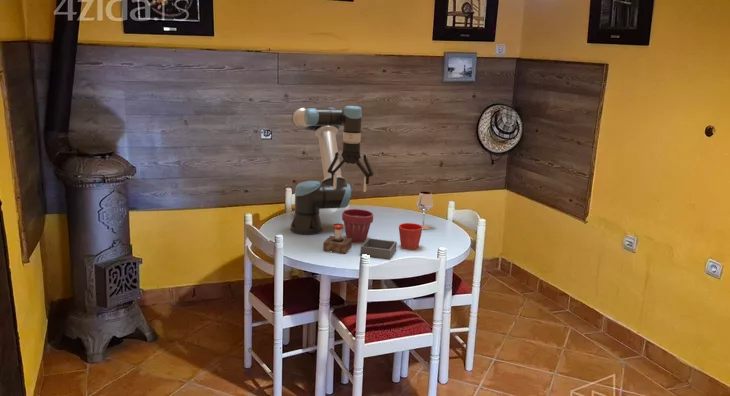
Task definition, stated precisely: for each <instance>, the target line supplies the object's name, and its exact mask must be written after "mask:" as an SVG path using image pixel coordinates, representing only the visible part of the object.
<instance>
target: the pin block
mask: <svg viewBox="0 0 730 396" xmlns="http://www.w3.org/2000/svg"><path fill="white" fill-rule="evenodd" d="M334 241H335V235H329V237H328V238H326V239H325V240H324V241H323V244H322V245H323V247H322V251H323V250H324V251H323V252H327V251H332V252H331V253H335V252H337V253H336V254H342V253H343V255H345V254H347V253H348V250H350V249H351V248H352V245H353V242H352V238H346V237H343V236H342V238H341V242H334Z"/></svg>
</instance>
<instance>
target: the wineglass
mask: <svg viewBox="0 0 730 396" xmlns="http://www.w3.org/2000/svg"><path fill="white" fill-rule="evenodd" d="M416 206H417V208H418V209H419V211H420V212H421V213H422V224H420V225H421V226H422V227H423V228H422V230H430V226H428V225H425V218H426V217H425V216H426V213H428V212H429V211H430V210H431V209H432V208H433V206H434V200H433V194H432V192H431V191H420V192H419V194H418V197H417V200H416Z"/></svg>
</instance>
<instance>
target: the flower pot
mask: <svg viewBox="0 0 730 396" xmlns="http://www.w3.org/2000/svg"><path fill="white" fill-rule="evenodd" d="M421 225H422V224H418V223H412V222H406V223H401V224H399V225H398V231H399V232H398V233H399V240H400V247H401V248H402V249H406V250H416V249H418V248H419V244H420V240H421V237H422V233H423V229H422V228H423V227H422V226H421Z"/></svg>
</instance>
